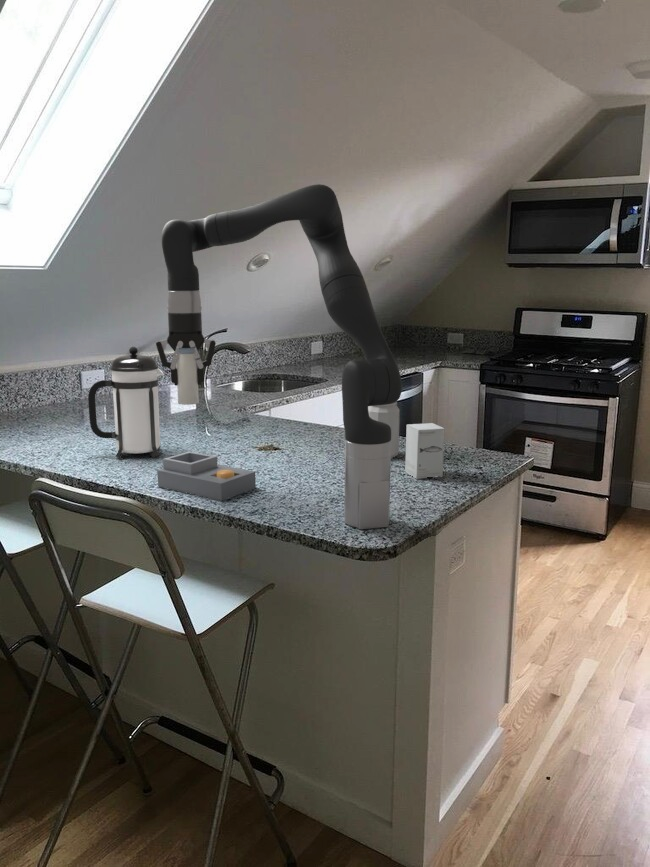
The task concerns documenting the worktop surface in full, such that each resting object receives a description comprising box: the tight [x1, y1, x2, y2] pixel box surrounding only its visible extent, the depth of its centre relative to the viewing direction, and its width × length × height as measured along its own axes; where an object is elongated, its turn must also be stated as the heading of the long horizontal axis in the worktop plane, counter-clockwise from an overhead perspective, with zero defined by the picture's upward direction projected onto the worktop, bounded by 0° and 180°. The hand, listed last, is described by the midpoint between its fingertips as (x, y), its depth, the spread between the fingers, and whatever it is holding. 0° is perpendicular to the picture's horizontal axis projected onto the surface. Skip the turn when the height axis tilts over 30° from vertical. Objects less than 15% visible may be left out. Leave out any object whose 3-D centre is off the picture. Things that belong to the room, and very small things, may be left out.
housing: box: [156, 451, 257, 502], centre depth 174 cm, size 20×12×6 cm, turn 56°
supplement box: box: [404, 422, 445, 480], centre depth 184 cm, size 7×7×13 cm
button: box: [217, 470, 234, 479], centre depth 171 cm, size 4×4×4 cm
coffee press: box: [87, 346, 165, 460], centre depth 202 cm, size 17×16×30 cm
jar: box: [368, 401, 401, 459], centre depth 203 cm, size 10×10×18 cm
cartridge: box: [176, 348, 200, 406], centre depth 172 cm, size 5×5×13 cm
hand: (187, 384), depth 172 cm, fingers closed on cartridge, 4 cm apart
